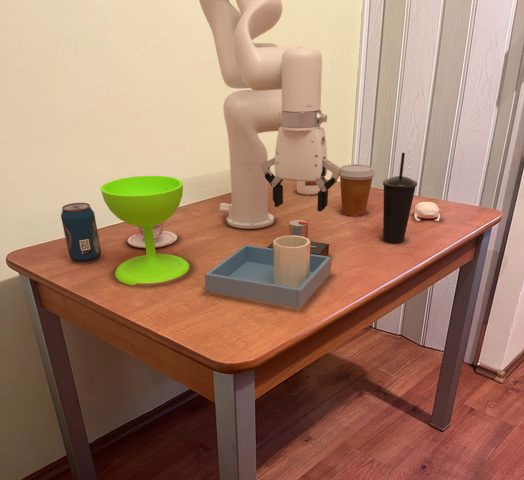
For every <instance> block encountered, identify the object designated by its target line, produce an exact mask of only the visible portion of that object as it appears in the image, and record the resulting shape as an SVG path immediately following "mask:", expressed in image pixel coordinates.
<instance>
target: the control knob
mask: <svg viewBox="0 0 524 480" xmlns="http://www.w3.org/2000/svg"><path fill="white" fill-rule="evenodd" d="M288 226H289V227H288V236H291V235H295V236H302V237H305V238H307V239H309V238H308V236H309V235H308V234H309V233H308V232H309V222H308V221H306V220H303V219H294V220H290V221H289V225H288Z"/></svg>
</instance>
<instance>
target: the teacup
mask: <svg viewBox="0 0 524 480" xmlns="http://www.w3.org/2000/svg"><path fill="white" fill-rule="evenodd" d="M163 224H164V222H163V223H160V224H157V225H155V226H152V228H153V237H154V245H155V249H157V248H162V247H166V246H169V245H172V244H174V243H175V242H177V240H178V235H177V234H176V233H175V232H172V231H169V230H163V229H164V225H163ZM137 228H138V230H139V232H137V233H134V234H132V235H130V236H129V237H128V238H127V240H126V241H127V244H128V245H129V246H131V247H135V248H139V249H146V247H145V240H144V232H143V227H139V226H137Z"/></svg>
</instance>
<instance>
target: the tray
mask: <svg viewBox="0 0 524 480" xmlns="http://www.w3.org/2000/svg"><path fill="white" fill-rule="evenodd" d="M331 273H332V256H329V255H327V256H321V255H314V254H310V267H309V277H308V278H307V279H306V281H305V282H304V283H303V284H302V285H301V286H300V287H299V288H293V287H287V286H281V285H275V284H273V249H272V248H267V247H265V246H257V245H250V244H244V245H242V246H241V247H240V248H238V249H237V250H236V251H234V252H233V253H231V254H229V256H228V257H226V258H225V259H224V260H222V261H220V263H218V264H216V265H215V266H213V267H212V268H211V269H210V270H208V271H207V272H206V273H204V284H205V292H207V293H214V294H218V295H225V296H229V297H230V296H231V297H235V298H240V299H245V300H252V301H257V302H261V303H268V304H273V305H279V306H284V307H290V308H294V309H295V308H296V309H302V307H304V305H305V304H306V303H307V301H308V300H309V299H311V297H312V296H313V295H314V294H315V292H317V290H318V289H319V288H320V287H321V285H322V284H323V283H324V282H325V281H326V280H327V279H328V277H329V276H330V275H331Z"/></svg>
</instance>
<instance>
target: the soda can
mask: <svg viewBox="0 0 524 480" xmlns="http://www.w3.org/2000/svg"><path fill="white" fill-rule="evenodd" d="M61 209H62V211H61V214H60V218H61V219H60V220H61V223H62V228H63V233H64V238H65V242H66V247H67V252H68V256H69V258H70V259H71V261H73V263H75V264H81V265H83V264H84V265H85V264H91V263H95V262H97V261H98V260H99V259H100V256H101V254H102V249H101V244H100V243H101V242H100V236H99V233H98V226H97V221H96V216H95V215H96V214H95V211H94V210H93V209H92V207H91V205H90V204H89V203H87V202H73V203H68V204H65V205H63V206H62V207H61Z"/></svg>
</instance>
